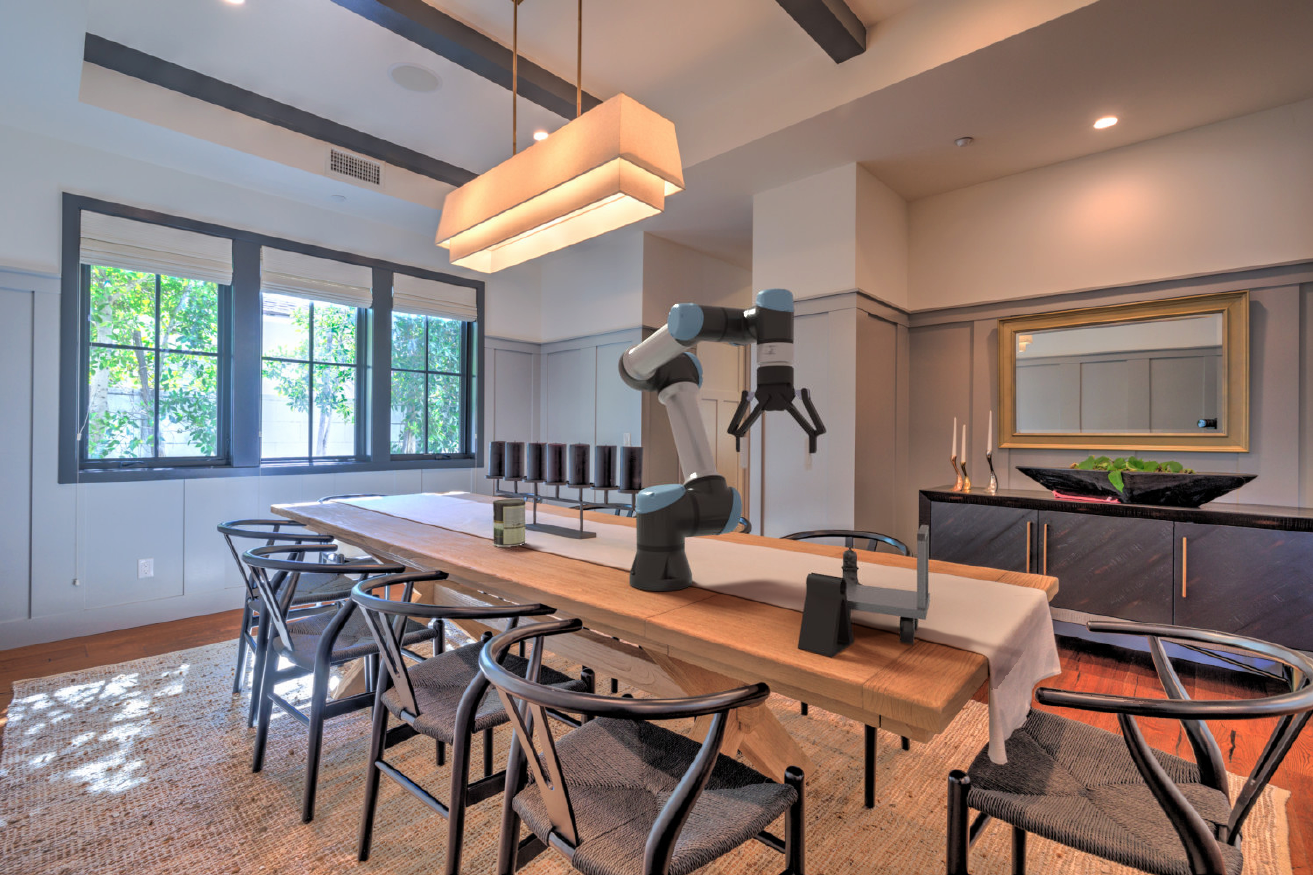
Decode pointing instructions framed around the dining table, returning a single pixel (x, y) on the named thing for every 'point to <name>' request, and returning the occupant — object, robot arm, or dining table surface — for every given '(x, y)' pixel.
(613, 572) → the dining table surface
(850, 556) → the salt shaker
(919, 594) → the trolley
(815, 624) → the black a-frame stand
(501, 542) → the coffee can
